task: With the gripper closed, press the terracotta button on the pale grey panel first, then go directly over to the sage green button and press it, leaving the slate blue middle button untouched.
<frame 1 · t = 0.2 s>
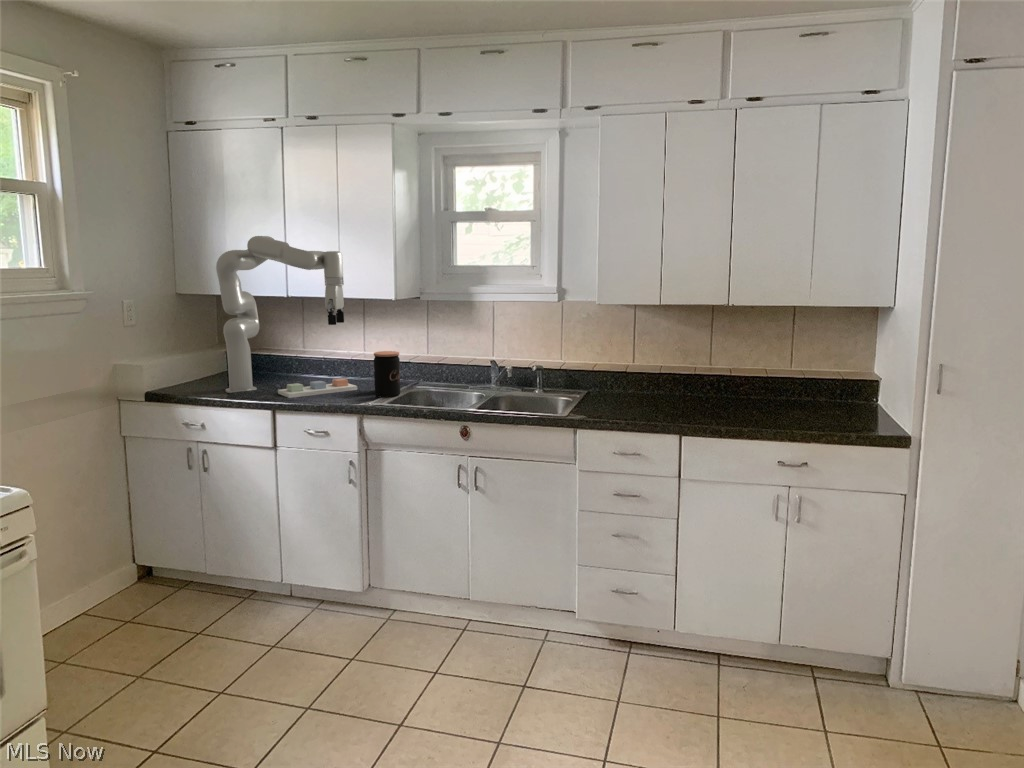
hand: (336, 323, 313), 30 cm above the worktop, tool pointing down, fingers open, 9 cm apart
terracotta button: (340, 384, 325), point 3 cm above the worktop, slide at 0.0 cm
coffee jar: (387, 395, 319), on the worktop
sage button: (295, 389, 313), point 3 cm above the worktop, slide at 0.0 cm
button panel: (318, 394, 319), on the worktop
slate button: (318, 386, 319), point 3 cm above the worktop, slide at 0.0 cm
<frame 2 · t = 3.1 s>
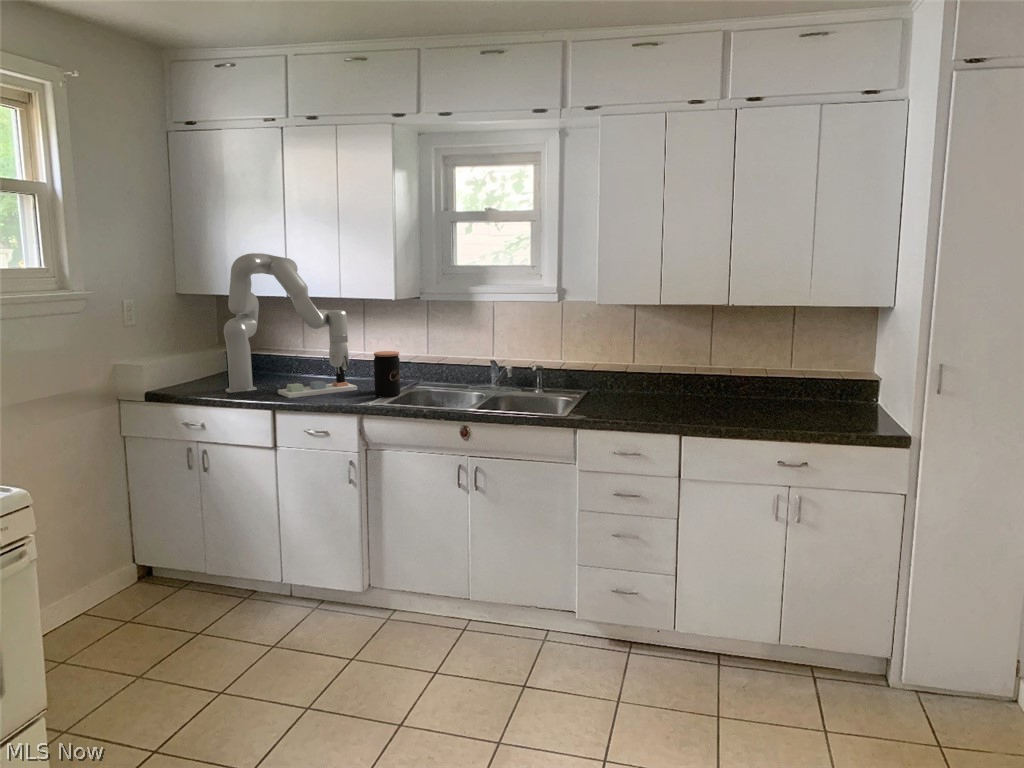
hand: (340, 382, 324), 4 cm above the worktop, tool pointing down, fingers closed
terracotta button: (340, 386, 325), point 2 cm above the worktop, slide at 1.1 cm, touching gripper
everything else where it was.
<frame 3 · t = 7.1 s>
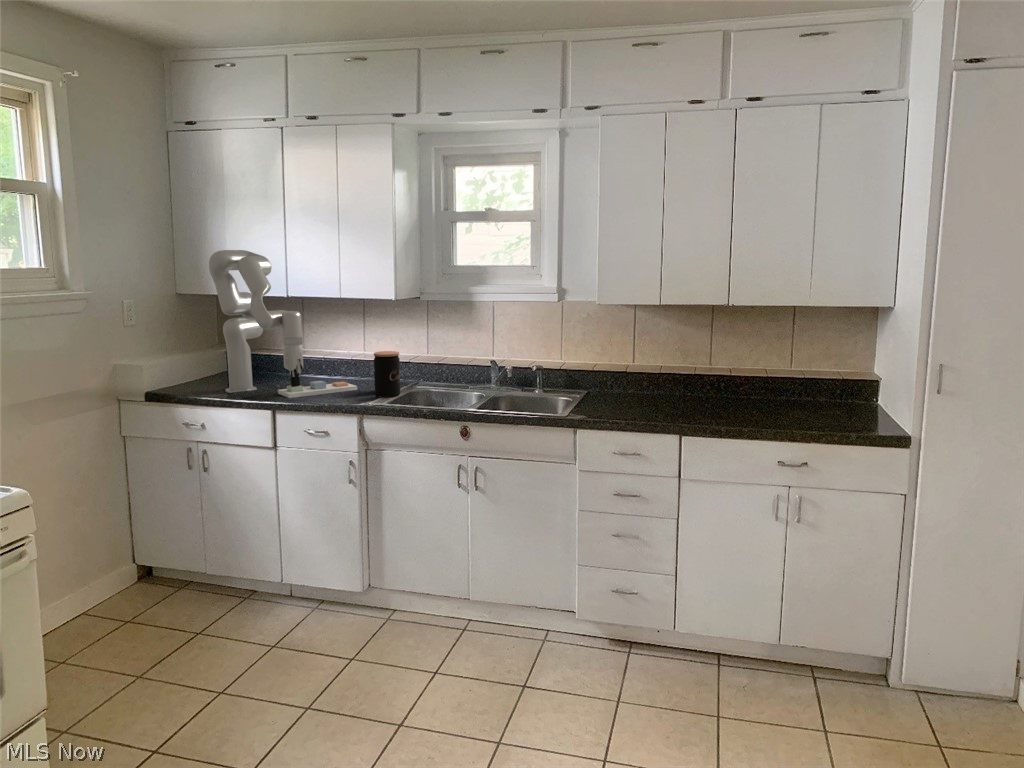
hand: (295, 386, 312), 5 cm above the worktop, tool pointing down, fingers closed
terracotta button: (340, 387, 325), point 2 cm above the worktop, slide at 1.4 cm
sage button: (295, 390, 313), point 3 cm above the worktop, slide at 0.6 cm, touching gripper
everything else where it was.
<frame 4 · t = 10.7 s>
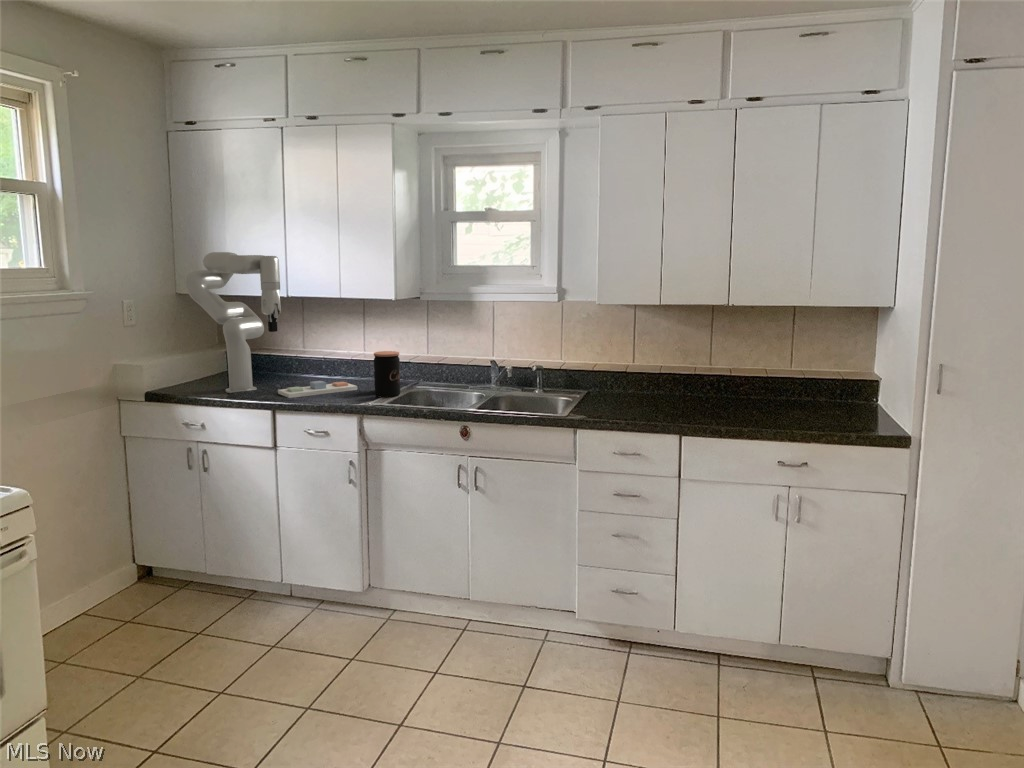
hand: (273, 331, 312), 27 cm above the worktop, tool pointing down, fingers closed
sage button: (295, 392, 313), point 2 cm above the worktop, slide at 1.4 cm
everything else where it was.
at the end: terracotta button slide at 1.4 cm; sage button slide at 1.4 cm; slate button slide at 0.0 cm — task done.
